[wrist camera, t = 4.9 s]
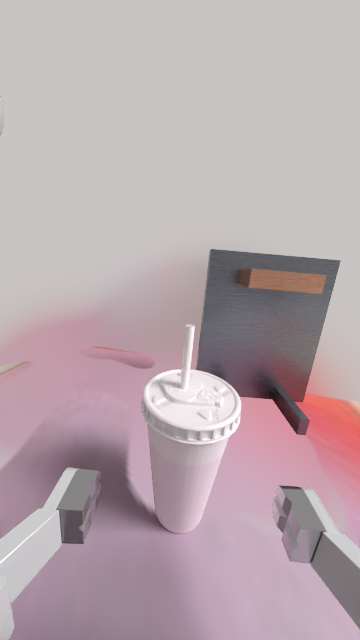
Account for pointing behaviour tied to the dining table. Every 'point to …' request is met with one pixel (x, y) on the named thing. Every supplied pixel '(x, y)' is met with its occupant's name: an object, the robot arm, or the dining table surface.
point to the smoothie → (187, 437)
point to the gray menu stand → (265, 324)
